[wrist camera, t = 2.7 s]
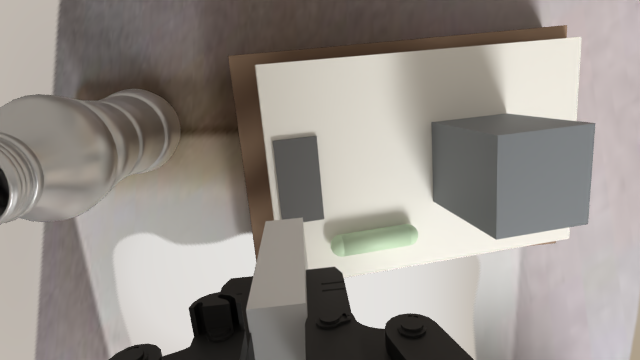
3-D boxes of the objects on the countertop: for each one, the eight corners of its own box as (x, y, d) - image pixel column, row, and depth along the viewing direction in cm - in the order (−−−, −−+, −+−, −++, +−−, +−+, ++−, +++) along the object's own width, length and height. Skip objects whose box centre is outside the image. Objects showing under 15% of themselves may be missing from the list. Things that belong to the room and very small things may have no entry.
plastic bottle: (94, 138, 35) (-156, 214, 16) (134, 71, 34) (-85, 62, 15) (162, 180, 36) (5, 297, 17) (202, 116, 35) (83, 163, 16)
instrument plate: (556, 232, 36) (663, 282, 27) (281, 279, 32) (297, 357, 23) (567, 38, 32) (696, 21, 23) (254, 65, 28) (262, 57, 19)
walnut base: (535, 229, 39) (555, 243, 36) (261, 258, 39) (258, 274, 35) (543, 29, 35) (567, 25, 32) (234, 57, 34) (228, 55, 31)
